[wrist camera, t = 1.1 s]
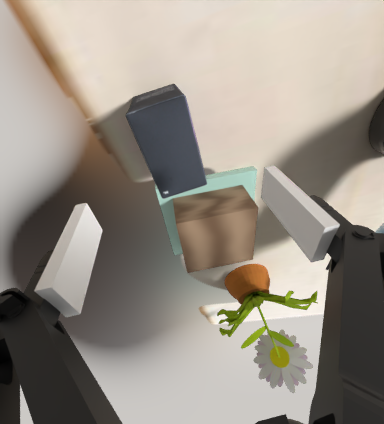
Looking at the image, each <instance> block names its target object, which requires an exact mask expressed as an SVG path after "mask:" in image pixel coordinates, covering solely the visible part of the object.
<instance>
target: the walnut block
mask: <svg viewBox="0 0 384 424" xmlns="http://www.w3.org/2000/svg"><path fill="white" fill-rule="evenodd" d="M172 199H173V206H174V214H175V221H176V226H177V231H178V235H179V239H180V243H181V247H182V251H183V256H184V260H185V264H186V268H187V272H188V273H190V272H194V271H199V270H204V269H209V268H214V267H218V266H223V265H228V264H233V263H238V262H242V261H247V260H252V259H253V252H254V242H255V233H256V223H257V214H258V207H257V205H256V204H255V202H254V201H253V199H252V198H251V196H250V195H249V194H248V192H247V191H246V189H245V188H244V186H243V185H239V186H234V187H229V188H223V189H218V190H213V191H208V192H203V193H197V194H192V195H187V196H182V197H177V198H172Z"/></svg>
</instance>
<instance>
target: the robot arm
mask: <svg viewBox="0 0 384 424" xmlns="http://www.w3.org/2000/svg"><path fill="white" fill-rule="evenodd" d="M369 139H370V143H371V145H372V147H373V148H374V149H375V150H377V151H379V152H381V153H383V154H384V99H383V101H382V102H381V104H380V106H379V107H378V109H377V111H376V113H375V115H374V117H373V120H372V123H371V126H370V131H369ZM261 198H262V199H263V201H264V202H265V203H266V205H267V206H268V207H269V208H270V210H271V211H272V212H273V214H274V215H275V216H276V217H277V219H278V220H279V221H280V223H281V224H282V225H283V227H284V228H285V229H286V230H287V232H288V233H289V234H290V236H291V237H292V238H293V240H294V241H295V242H296V243H297V245H298V246H299V247H300V249H301V250H302V251H303V253H304V254H305V255H306V256H307V258H308V259H309V260H310V262H314V261H319V260H323V259H324V258H325V256H326V253H328V254H329V255H330V256H331V260H330V262H329V264H328V266H327V268H326V270H328V269H329V273H328V282H327V291H326V300H325V310H324V319H323V328H322V337H321V347H320V356H319V365H318V374H317V383H316V391H315V394H314V397H313V400H312V404H311V409H310V416H309V424H384V223H383V224H382V226H381V227H380V228H379V229H378V230H377V231H376V232H374V231H372V230H371V229H369V228H367V227H364V226H359V225H352V224H351V223H350V222H349V221H348V220H346V219H345V218H344V217H343V216H342V215H341V214H339V213H338V212H337V211H336V210H334V209H333V208H332V207H331V206H329V204H328V203H326V202H325V201H324V200H323V199H321V198H319V197H317V196H314V195H313V196H308V195H307V194H306V193H304V192H303V191H302V190H301V189H300V188H299V187H298V186H297V185H296V184H294V183H293V182H292V181H291V180H290V179H289V178H288V177H287V176H286V175H285V174H283V173H282V172H281V171H280V170H279V169H278V168H277V167H276V166H275V165H274V166H269V167H264V176H263V185H262V194H261ZM102 231H103V230H102V228H101V227H100V225H99V223H98V221H97V220H96V218H95V216H94V214H93V213H92V211H91V209H90V208H89V206H88V204H87V203H83V204H78V205H76V206H75V208H74V210H73V212H72V214H71V216H70V218H69V220H68V222H67V224H66V226H65V228H64V230H63V233H62V235H61V237H60V239H59V241H58V243H57V245H56V247H55V249H54V250H52V251H48V252H47V254H46V255H45V256H44V257H43V258H42V259H41V261H40V263H39V265H38V268H37V269H36V271H35V272H34V275H33V276H32V278H31V280H30V282H29V284H28V286H27V287H26V289H25V291H24V293H22V292H21V291H20V290H18V289H17V288H11V289H7V290H5V291H3V292H1V293H0V424H20V385H21V388H22V391H23V394H24V396H25V399H26V402H27V405H28V408H29V411H30V414H31V417H32V420H33V423H34V424H122V422H121V421H120V419H119V417H118V416H117V414H116V412H115V411H114V409H113V407H112V406H111V404H110V402H109V401H108V399H107V398H106V396H105V394H104V392H103V391H102V389H101V387H100V386H99V384H98V383H97V381H96V379H95V378H94V376H93V374H92V373H91V371H90V369H89V368H88V366H87V364H86V363H85V361H84V360H83V358H82V356H81V354H80V353H79V351H78V350H77V348H76V346H75V345H74V343H73V341H72V340H71V338H70V336H69V335H68V333H67V331H66V330H65V328H64V326H63V325H62V323H61V322H60V321H59V320H58V317H59V315H60V313H62V314H63V315H64V316H65V317H69V316H73V315H78V314H81V310H82V306H83V302H84V298H85V295H86V291H87V287H88V284H89V280H90V276H91V272H92V268H93V265H94V261H95V257H96V253H97V249H98V246H99V242H100V238H101V234H102ZM256 424H303V423H301V422H299V421H295V420H292V419H287V417H286V415H281V416H277V417H273V418H270V419H266V420H262V421H258V422H257V423H256Z"/></svg>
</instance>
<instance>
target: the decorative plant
mask: <svg viewBox="0 0 384 424" xmlns="http://www.w3.org/2000/svg"><path fill="white" fill-rule="evenodd" d="M269 285H270V278H269V275H268V271H267V269H266V268H265V267H264V266H262V265H259V264H248V265H244V266H241V267H238V268H236V269H235V270H233V271H232V272H230V273H229V274H228V275H227V277H226V279H225V286H226V287H227V289H228V291H229V293H230V294H231V295H232V296H233V297H234V298H235V299H237V300H238V302H239V303H240V304H242V305H241V306H240V308H239V309H238V310H237V311H226V310H224V309H222V310H220V312H218V314H217V316H219V315H221V314H225V315H226V316H227V317H228V318H227V319H225V320H220V322H219V323H218V324H221V323H223V322H225V321H227V322H229V325H228V326H230V325H233V324H234V325H233V327H232V328H231V330H225V329H222V328H220V332H221V334H222V335H225V334H228V336H229V337H230V336H231V335H232V334H233V332H234V331H235V330H236V328H237V327H238V326H239V324H240V323H242V322H243V320H244V319H245V318H246V317H247V316H248V314H249V313H250V312H251V311H252V310H253V308H254V307H258V309H259V312H260V314H261V316H262V319H263V321H264V323H265V326H264V327H262V328H260V329H259V330H257V331H256V332H254V333H253V334H252V335H251V336H250V337H249V338H248V339H247V340H246V341H245V342H244V343H243V345H242V346H241V348H245V347H247V346H249V345H250V344H251V343H253V342H254V341H255V340H256V339H258V338H260V340H261V341H258V344H259V345H257V346H255V349H256V350H257V351H258V353H257V357H256V358H255V359H254V362H255V363H257V364H259V368H262V369H261V371H260V373H259V378H260V379H264V378H266V381H267V382H269V381H270V385H271V387H272V388H274V387H276V385H277V384H278V386H279V387H281V386H282V384H283V379H284V382H285V384H286V386H287V387H288V389H289V390H290V392H292V393H294V392H295V386H294V384H295V385H298V381H300V382H301V383H303V384H305V383H306V379H305V377H304V376H303V374H305V370H304V369H303V368H305V369H311V368H313V365H312V364H311V363H310V362H308V361H306V359H307V356H306V355H304V354H305V353H306V351H307V350H306V349H305V348H303V347H302V348H300V347H299V344H298V343H296V337H295V336H294V335H293V336H291V337H290V338H289V336H288V335H285V332H284V330H280V332H279V333H277V332H274V331H271V330H269V329H268V326H267V324H266V321H265V319H264V317H263V314H262V312H261V309H260V307H259V306H260V305H261V303H262V304H263V300H266V301H271V302H276V303H279V304H282V305H285V306H288V307H291V308H297V309H304V310H307V309H308V307H309V306H310V305H311V303H312V302H314V303H317V302H315V301H316V299H317V291H316V292H315V293H314V294H313V295H312V296H311V298H309V299H303V300H299V299H294V298H290V296H291V294H293V293H294V292H293V291H289V292H288V293H287V295H286V296H284V297H283V296H278V295H273V294H269ZM296 304H297V305H296ZM300 304H309V305H307V306H303V307H302V306H299V305H300ZM238 312H240V313H239V314H237V313H238ZM266 329H267V331H268V335H262V334H263V332H264V331H265V330H266Z"/></svg>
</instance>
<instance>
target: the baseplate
mask: <svg viewBox="0 0 384 424" xmlns="http://www.w3.org/2000/svg"><path fill="white" fill-rule="evenodd" d="M256 174H257V170H256V168H255V167H254V166H252V167H247V168H242V169H236V170H231V171H226V172H221V173H215V174H210V175H205V176H206V180H207V185H205V186H202V187H199V188H196V189H193V190H190V191H187V192H183V193H180V194H177V195H174V196H171V197H168V198H165V199H163V198H162V197H161V195H160V193H159V190H158V188H157V186H156V185H155V190H156V193H157V197H158V200H159V204H160V207H161V211H162V214H163V218H164V221H165V225H166V228H167V232H168V235H169V239H170V242H171V246H172V249H173V252H174V255H178V254H183V251H182V247H181V243H180V239H179V235H178V231H177V226H176V221H175V214H174V206H173V199H172V198H177V197H182V196H187V195H192V194H197V193H203V192H208V191H213V190H218V189H223V188H229V187H234V186H239V185H243V186H244V188H245V189H246V191H247V192H248V194H249V195H250V196H251V198H252V199H253V201H254V197H255V185H256Z"/></svg>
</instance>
